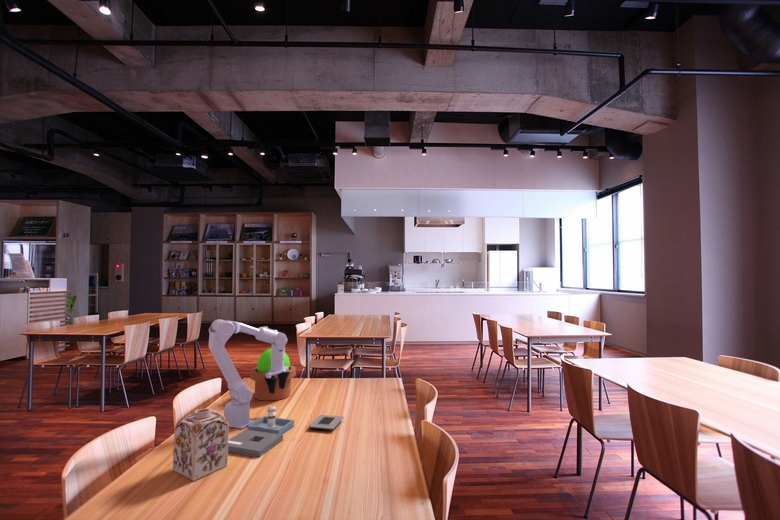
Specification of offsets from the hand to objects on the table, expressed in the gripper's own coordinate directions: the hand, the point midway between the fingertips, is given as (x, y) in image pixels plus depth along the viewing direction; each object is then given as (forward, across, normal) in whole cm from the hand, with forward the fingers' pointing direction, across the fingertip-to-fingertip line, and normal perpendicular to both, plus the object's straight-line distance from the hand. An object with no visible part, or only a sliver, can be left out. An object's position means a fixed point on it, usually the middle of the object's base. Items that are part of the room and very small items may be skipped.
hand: (277, 390), depth 166 cm
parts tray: (+10, -14, -7) cm, 19 cm away
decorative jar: (+11, -48, -4) cm, 49 cm away
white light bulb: (+10, -14, -7) cm, 19 cm away
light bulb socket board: (+10, -29, -9) cm, 32 cm away
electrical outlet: (+11, -4, -26) cm, 29 cm away
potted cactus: (+11, +23, +17) cm, 31 cm away
